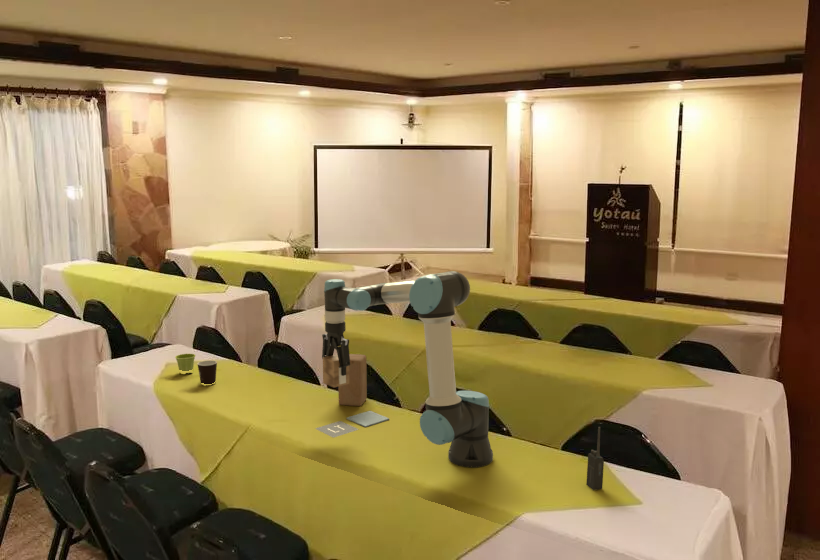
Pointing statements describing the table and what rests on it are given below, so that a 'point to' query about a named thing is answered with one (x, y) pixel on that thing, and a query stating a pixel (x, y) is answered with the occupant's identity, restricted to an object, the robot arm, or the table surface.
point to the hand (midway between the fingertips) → (336, 380)
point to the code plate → (336, 429)
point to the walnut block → (333, 371)
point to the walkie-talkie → (595, 467)
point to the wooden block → (355, 382)
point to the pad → (367, 418)
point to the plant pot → (185, 361)
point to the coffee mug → (207, 371)
